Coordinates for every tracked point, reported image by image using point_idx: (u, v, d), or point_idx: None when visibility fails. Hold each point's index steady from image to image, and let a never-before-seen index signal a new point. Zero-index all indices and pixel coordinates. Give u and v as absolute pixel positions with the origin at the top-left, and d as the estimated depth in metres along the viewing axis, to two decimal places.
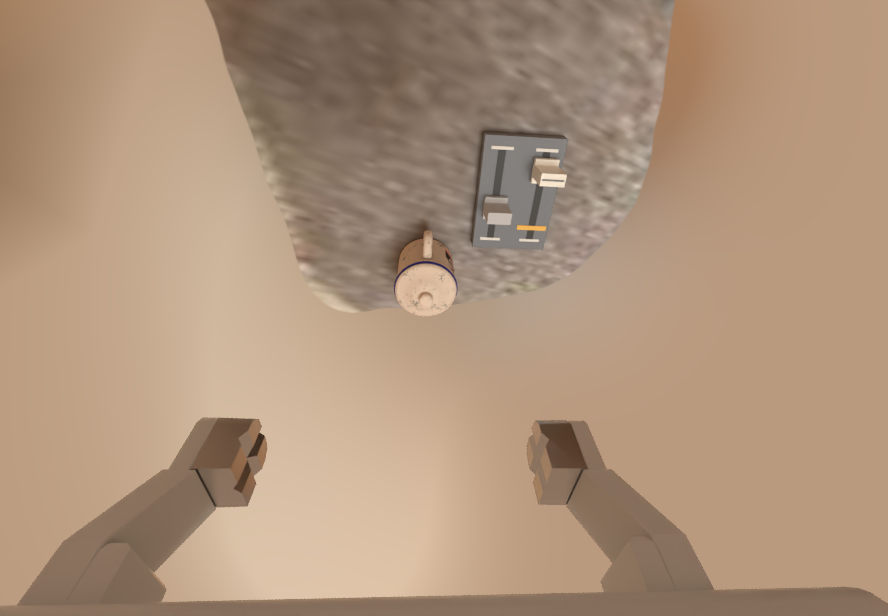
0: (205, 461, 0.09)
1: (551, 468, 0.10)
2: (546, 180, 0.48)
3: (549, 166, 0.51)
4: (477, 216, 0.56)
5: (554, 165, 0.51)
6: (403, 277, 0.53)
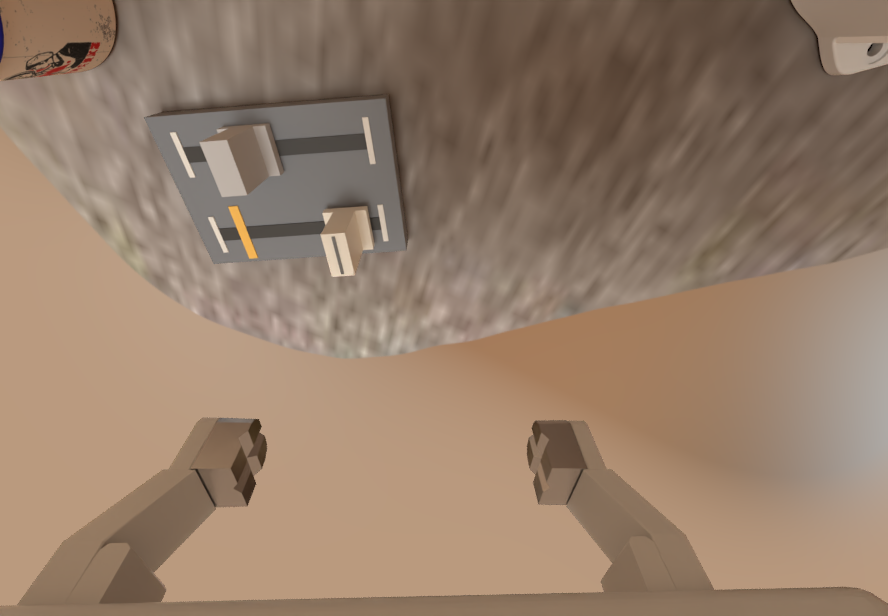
0: (205, 461, 0.09)
1: (551, 468, 0.10)
2: (335, 244, 0.25)
3: (359, 236, 0.29)
4: (218, 115, 0.25)
5: (363, 243, 0.29)
6: None
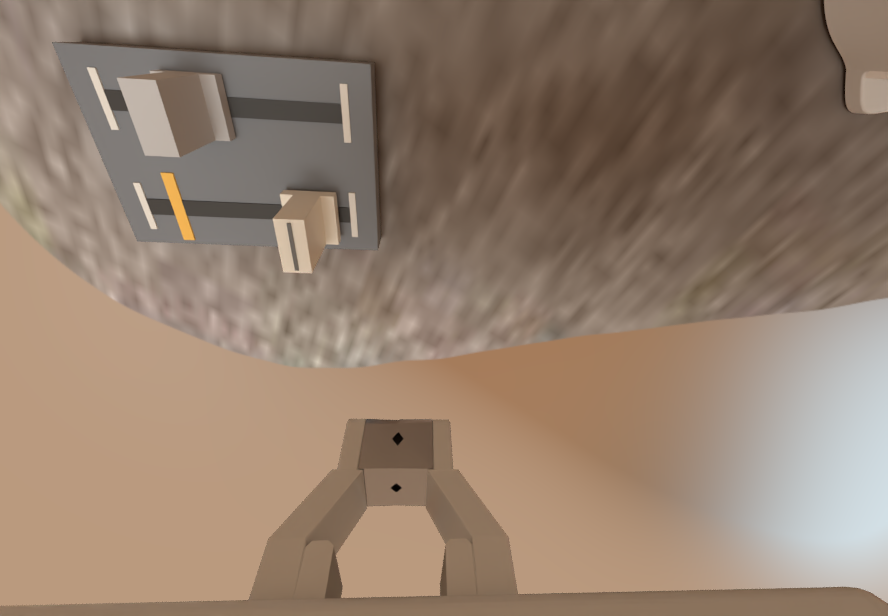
0: (369, 461, 0.10)
1: (396, 468, 0.10)
2: (290, 233, 0.21)
3: (323, 227, 0.24)
4: (154, 54, 0.20)
5: (326, 236, 0.25)
6: None
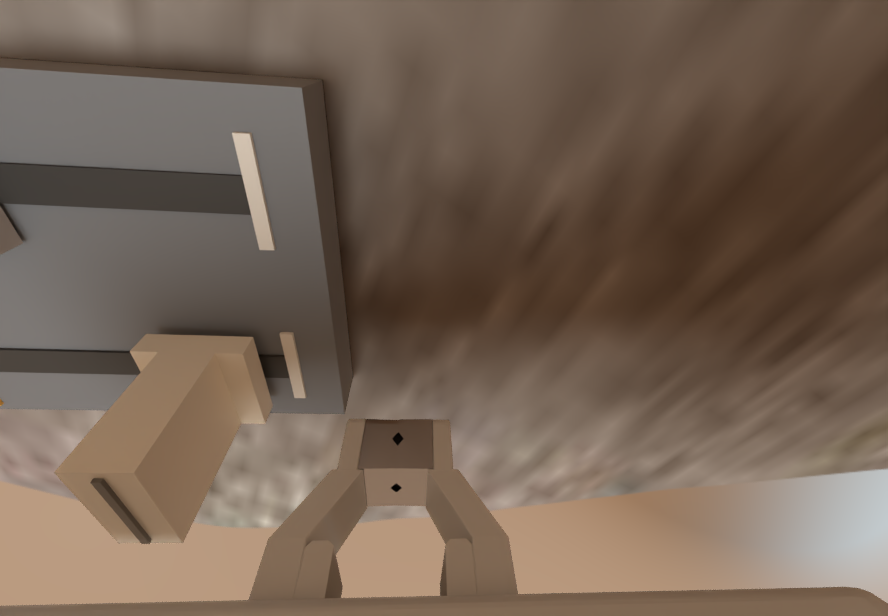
0: (369, 461, 0.10)
1: (395, 468, 0.10)
2: (110, 492, 0.09)
3: (227, 405, 0.12)
4: None
5: (239, 413, 0.13)
6: None
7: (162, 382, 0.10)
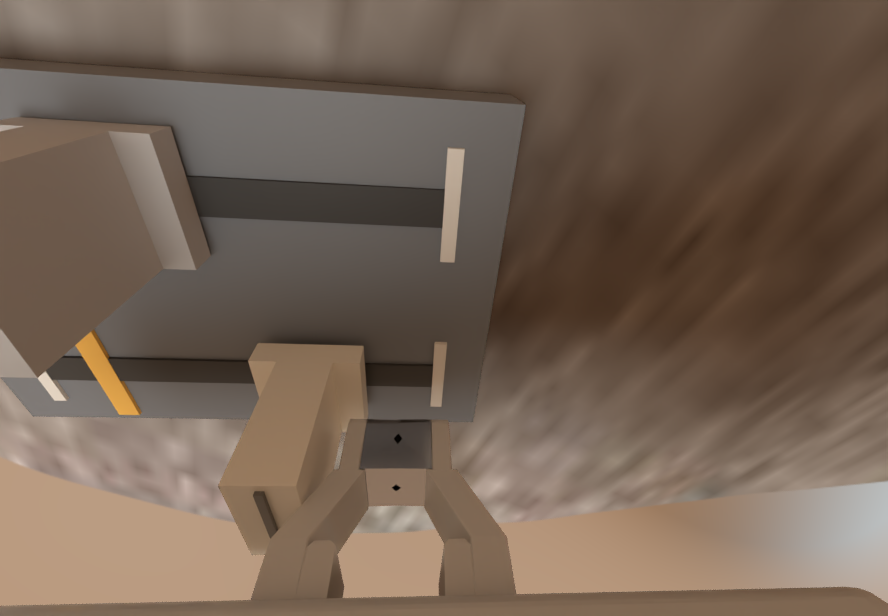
0: (371, 461, 0.10)
1: (394, 468, 0.10)
2: (264, 505, 0.09)
3: (336, 414, 0.12)
4: (1, 80, 0.08)
5: (343, 422, 0.13)
6: None
7: (291, 392, 0.10)
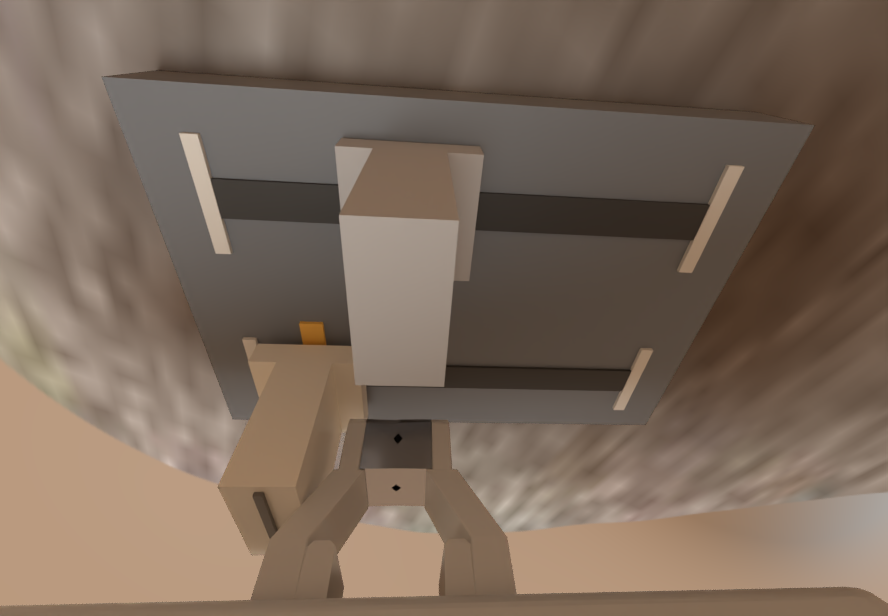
0: (370, 461, 0.10)
1: (394, 468, 0.10)
2: (264, 505, 0.09)
3: (336, 415, 0.12)
4: (338, 104, 0.08)
5: (343, 422, 0.13)
6: None
7: (291, 393, 0.10)
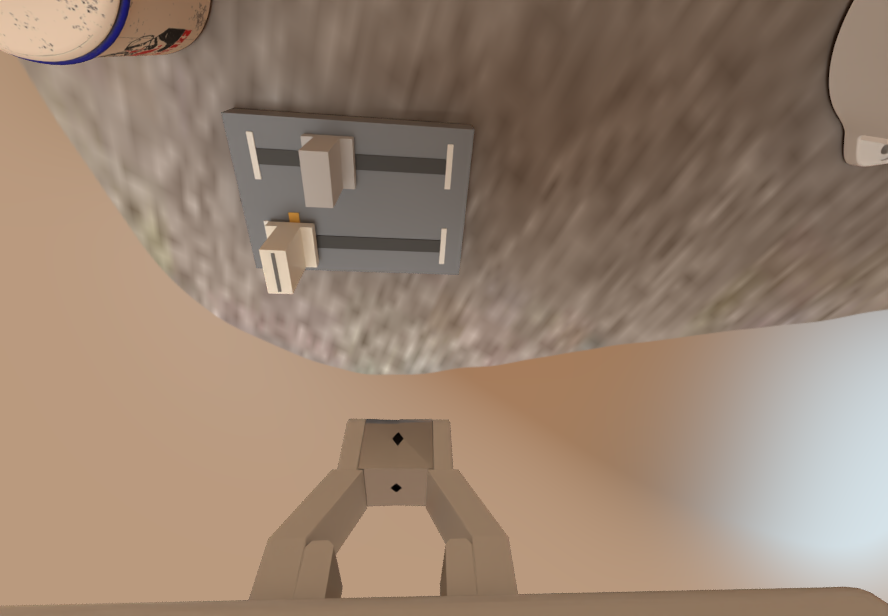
0: (369, 461, 0.10)
1: (396, 468, 0.10)
2: (274, 261, 0.24)
3: (302, 253, 0.28)
4: (302, 121, 0.25)
5: (306, 260, 0.29)
6: None
7: (283, 233, 0.26)
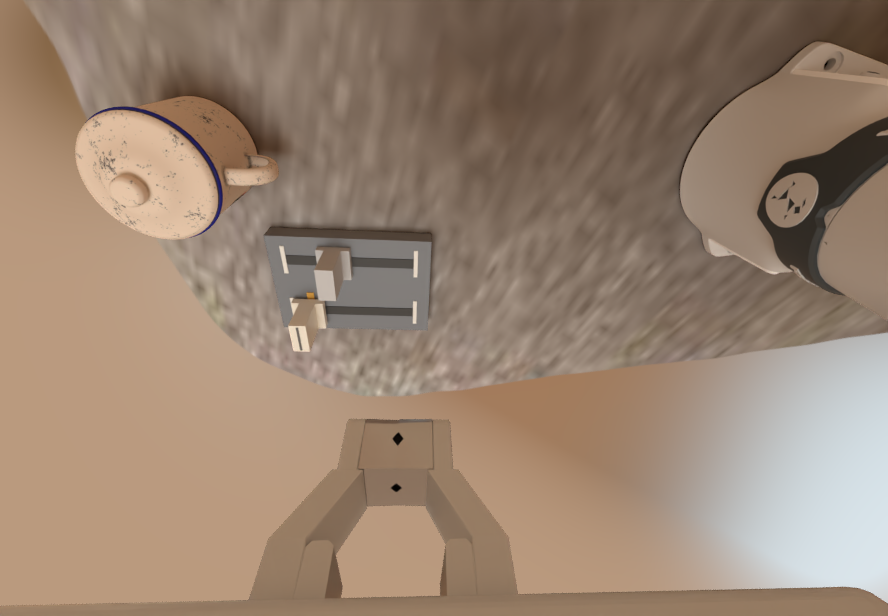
0: (369, 461, 0.10)
1: (396, 468, 0.10)
2: (297, 332, 0.37)
3: (316, 320, 0.41)
4: (316, 239, 0.37)
5: (318, 324, 0.41)
6: (166, 134, 0.25)
7: (303, 310, 0.39)
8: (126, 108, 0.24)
